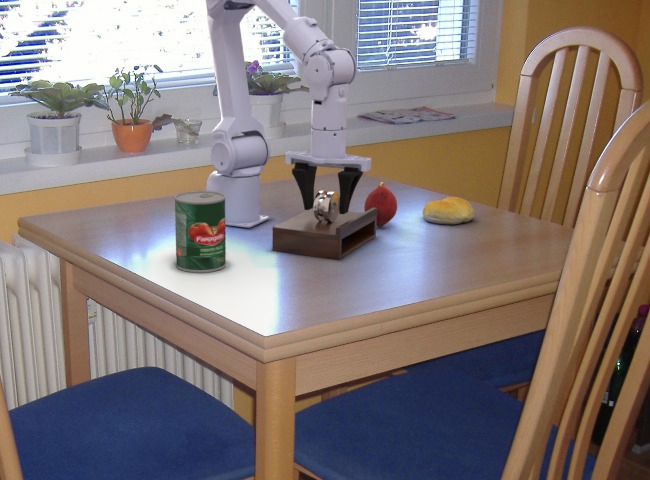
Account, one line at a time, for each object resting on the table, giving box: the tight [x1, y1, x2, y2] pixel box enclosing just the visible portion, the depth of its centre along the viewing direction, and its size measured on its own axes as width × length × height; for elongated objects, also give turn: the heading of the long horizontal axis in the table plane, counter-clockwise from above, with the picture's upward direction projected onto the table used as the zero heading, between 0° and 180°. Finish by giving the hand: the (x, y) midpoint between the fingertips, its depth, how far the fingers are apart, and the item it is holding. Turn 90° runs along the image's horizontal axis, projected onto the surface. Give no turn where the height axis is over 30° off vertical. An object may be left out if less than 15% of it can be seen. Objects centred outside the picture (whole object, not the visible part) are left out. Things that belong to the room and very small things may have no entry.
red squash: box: [363, 181, 398, 228], centre depth 182 cm, size 6×6×8 cm
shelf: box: [271, 207, 377, 261], centre depth 172 cm, size 12×16×5 cm
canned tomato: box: [173, 190, 227, 274], centre depth 160 cm, size 8×8×11 cm
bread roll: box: [422, 196, 475, 225], centre depth 187 cm, size 8×9×4 cm
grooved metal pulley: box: [313, 189, 340, 222], centre depth 171 cm, size 5×3×5 cm, turn 151°
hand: (326, 210), depth 171 cm, fingers open, 6 cm apart
